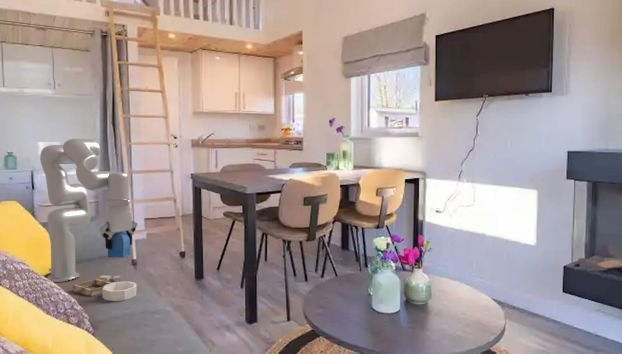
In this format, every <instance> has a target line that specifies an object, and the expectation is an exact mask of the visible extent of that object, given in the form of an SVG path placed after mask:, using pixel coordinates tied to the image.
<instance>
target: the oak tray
mask: <svg viewBox="0 0 622 354" xmlns="http://www.w3.org/2000/svg"><path fill="white" fill-rule="evenodd" d="M111 283H112V282H110V281H108V282H107V281H103V280H99V278H94V279H90V280H86V281H83V282H80V283H76V284H73V285H72V291H73V292H75V293H79V294H82V295H86V296H89V297H95V296H98V295H101V294H100V293H102V294H103V288H104V286H105V285H108V284H111ZM94 284H97V285H100V286H99V287H97V288H92V289H91V288H90V287H88V286H91V285H94ZM97 285H96V286H97ZM94 286H95V285H94ZM101 286H103V287H101ZM86 287H87V288H86ZM91 287H92V286H91ZM97 294H98V295H97ZM94 295H95V296H94Z"/></svg>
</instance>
